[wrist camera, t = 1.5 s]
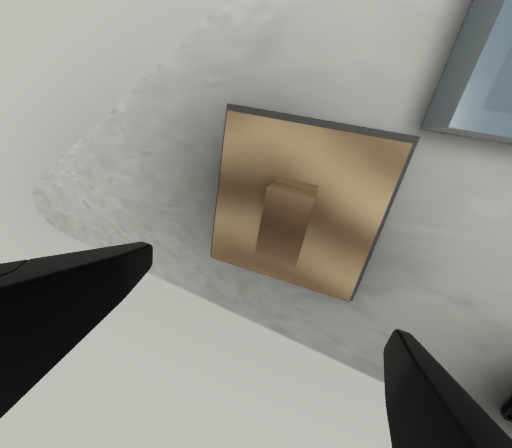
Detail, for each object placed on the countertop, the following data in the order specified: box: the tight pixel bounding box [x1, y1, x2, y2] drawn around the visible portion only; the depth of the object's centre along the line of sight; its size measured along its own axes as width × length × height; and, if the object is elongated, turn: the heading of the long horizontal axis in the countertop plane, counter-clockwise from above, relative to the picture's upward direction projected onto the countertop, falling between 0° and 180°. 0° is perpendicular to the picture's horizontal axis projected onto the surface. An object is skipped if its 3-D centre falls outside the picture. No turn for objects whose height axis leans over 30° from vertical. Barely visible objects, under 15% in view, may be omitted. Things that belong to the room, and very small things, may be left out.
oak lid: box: [211, 110, 413, 302], centre depth 18 cm, size 13×13×5 cm
